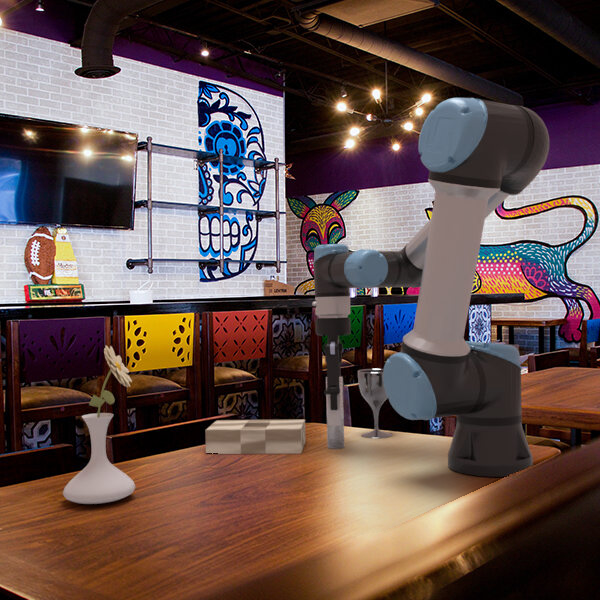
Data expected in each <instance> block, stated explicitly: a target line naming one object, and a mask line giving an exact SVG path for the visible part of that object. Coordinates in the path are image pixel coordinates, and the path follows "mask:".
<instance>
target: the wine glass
mask: <svg viewBox="0 0 600 600" xmlns="http://www.w3.org/2000/svg"><path fill="white" fill-rule="evenodd" d="M383 371H384V368H365V369H359V370H357V379H358V382H357V383H358V388H359V392H360V394H361V397H363V399H364V400H365V401H366V402H367V403H368V405H369V407H370V408H371V410H372V412H373V413H372V415H373V420H374V429H373V430H372V431H369V432H368V431H367V432H364V433H361V434H360V435H361V437H363V438H367V437H368V439H384V438H385V439H386V438H391V437H392V436H393V434H392V433H390V432H385V431H381V430H380V429H379V415H380V414H379V413H380V409H381V407H382V405H383V404H384V402H386V400H388V399H389V398H388V396H387V395H386V392H385V388H384V382H383Z"/></svg>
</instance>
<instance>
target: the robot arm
mask: <svg viewBox="0 0 600 600" xmlns="http://www.w3.org/2000/svg"><path fill="white" fill-rule="evenodd" d="M418 137H419V138H418V147H417V148H418V154H419V155H421V156H420V161H421V163H422V164H423V166H425V168H427V170H428V172H429V173H428V179H427V181H428V183H429V184H430V185H431V187H432V188H433V189H434V193H435V194H434V199H433V206H432V212H431V217H430V219H429V220H428V221H427V222H426V223H425V224H424V225H423V226H422V228H420V229H419V231H418V232H416V234H414V236H413V237H412V238H411V239H410V240H409V242H407V244H406V245H404V246H403V248H401V250H397V251H396V250H395V251H393V250H392V251H391V250H386V251H385V250H384V251H382V250H376V249H367V248H366V249H363V248H362V249H357V250H354V251H353V250H352V251H350V249H349V246H348V245H347V244H343V243H331V244H330V243H329V244H319V245H317V246H316V247H315V248H314V252H313V253H314V254H313V255H314V256H313V265H312V266H313V279H314V281H313V282H314V283H313V284H314V297H315V298H314V300H315V301H312V303H311V306H313V307H315V309H314V310H315V316H318V317H316V319H315V320H314V323H315V334H316V336H320V337H325V336H326V337H327V343H324V344H323V352H324V354H325V355H324V356H325V357H324V361H325V364H326V377H327V391H326V390H323V394H324V395H326V394H327V402H326V408H327V407H328V426H341V400H340V394H339V393H340V388H339V376H340V377H342V374H341V373H342V372H341V370H342V369H341V364H342V362H343V353H344V352H343V350H344V345H343V344H344V343H342V342H341V340H340V336H348V335H350V334H351V332H352V331H351V330H352V329H351V328H352V327H351V326H352V325H351V318H350V317H348V316H349V315H351V295H350V293H351V292H350V291H351V289H372V288H373V289H375V288H376V289H377V288H414V289H415V288H417V289H418V288H419V292H418V300H417V305H416V310H415V311H416V312H415V317H414V324H413V329H412V330H410V331H409V332H408V333H406V334H404V335H403V337H402V342H401V349H400V351H399V352H396V353H393V354H391V355H390V356H389V358H387V360H386V361H385V363H384V366H383V369H384V371H383V382H384V388H385V392H386V395H387V396H388V398H387V399H388V401H389V403H390V406H392V408H393V410H394V411H395V412H396V413H397V414H399V416H401V417H403V418H405V419H407V420H410V421H415V420H416V421H418V420H423V421H430V420H433V419H438V418H444V417H445V418H446V417H453V416H456V427H455V429H454V433H453V436H452V440H451V443H450V446H449V449H448V453H447V466H448V468H449V470H452V471H454V472H457V473H459V474H460V473H461V474H465V475H470V476H477V477H493V478H495V477H498V478H500V477H508V476H507V475H510V474H513V473H516V472H519V471H521V470H524V469H526V468H528V467H530V466H532V465H533V466H534V463H533V461H534V460H533V459H534V458H533V454H532V451H531V449H530V446H529V444H528V440H527V438H526V435H525V431H524V429H523V425H522V424H523V423H522V422H523V421H522V415H523V414H522V412H523V411H522V369H523V368H522V366H521V358H520V351H519V349H518V348H517V347H516V346H514V345H511V344H504V343H495V342H483V341H482V342H481V341H472V340H471V341H470V340H469V341H468V340H465V338H464V337H465V330H466V326H467V320H468V315H469V308H470V304H471V297H472V292H473V286H474V281H475V275H476V270H477V264H478V260H479V259H478V258H479V254H480V247H481V243H482V239H483V238H482V236H483V232H484V227H485V226H484V225H485V221H486V220H485V219H486V218H488V217H489V216H490V215H491V214H492V213H493V212H494V211H495V210H496V209H497V208H498V207H499V206H500V205H501V204H502V203H503V202H504V201H505V200H506V199H507V198H509V197H510V196H517V195H519V194H520V193H522V192H523V191H524V190H525V189H526V188H527V187H528V186H529V185H530V184H531V183H533V181H534V180H535V178H536V177H537V176H538V175H539V174H540V172H541V170H542V168H543V167H544V165H545V163H546V162H547V158H548V156H549V151H550V136H549V130H548V128H547V126H546V124H545V122H544V121H543V119H542V118H541V117H540V116H539V115H538V114H537V113H536V112H535V111H533V110H532V109H530V108H528V107H526V106H525V107H524V106H522V105H518V104H507V103H501V102H496V101H492V100H485V99H481V98H474V97H452V98H451V97H450V98H448V99H446V100H443V101H441V102H439V104H437V105H436V106H435V108H434V109H432V110H431V111H430V113H429V114H428V115H427V117H426V118H425V120H424V123H423V125H422V126H421V130H420V133H419V136H418ZM343 388H345V382H343Z"/></svg>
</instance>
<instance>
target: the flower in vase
mask: <svg viewBox="0 0 600 600" xmlns="http://www.w3.org/2000/svg"><path fill="white" fill-rule="evenodd" d="M103 348H104V347H103ZM103 353H104V358H105V360H106V363H107V365H108V366H109V368H110V369H109V371H108V372H107V375H106V377H105V380H104V381H103V384H102V388H101V392H100V396H99V397H98V395H95V394H92V398H91V399H90V401H89V403H88V406H92V407H95V408H98V409H97V412H96V413H88V414H83V415H81V418H82V419H83V421H84V422H85V423H86V426H87V428H88V432H89V435H90V444H91V450H90V451H91V455H90V460H89V462H88V463H87V465H86V466H85V467H84V468H82V470H81V471H80V472H78V473H77V474H76V475H75V476H74V477H73V478H72V479H71V480H70V481H68V483H67V484H66V485H65V487H64V489H63V492H62V495H63V496H64V498H65V499H66V500H67V501H70V502H72V503H76V504H83V505H93V504H94V505H97V504H99V505H100V504H106V503H111V502H116V501H119V500H121V499H124V498H126V497H128V496H130V495H132V494H133V492H134V490H135V489H136V484H135V482H134V480H133V479H132V478H131V477H130V476H128V475H127V474H126V473H125V472H124V471H122V470H121V469H119V468H117V467H116V465H114V464H112V463H111V461H110V460H109V459H108V456H107V452H106V451H107V448H106V445H107V444H106V442H107V441H106V440H107V439H106V438H107V432H108V427H109V425H110V422H111V420H112V418H113V417H114V413H111V412H101V407H102V405H104V403H105V402H106V403H107V404H108V405H113V404H114V403H115V400H116V399H115V397H114V394H113V393H112V392H111V391H109V390H105V387H106V385H107V382H108V380H109V377H110V376H111V374H112V375H114V377H115V378H116V379H117V381H118V382H119V384H120V385H123V386H124V387H126V388H128V387H130V388H131V384H130V383H133V380H132V379H131V377H130V375H129V373H130V370H129V369H128V368H127V367H126V366H125V364H124V363H123V361H122V357H121V355H116V353H115V351H114V348H113V346H112V345H110V346H109V347H108V345H105V348H104V349H103Z"/></svg>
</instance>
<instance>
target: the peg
mask: <svg viewBox="0 0 600 600" xmlns="http://www.w3.org/2000/svg"><path fill="white" fill-rule="evenodd" d="M343 377H344V376H341V377H340V376H339V388H340V393H339V394H340V400H341V426H328V407H327V406H326V433H327V434H326V436H327V437H326V439H327V440H326V441H327V448H328V449H330V450H338V449H343V448H345V420H344V417H345V416H344V387H343V383H344V378H343ZM325 391H327V376H325ZM325 397H326V403H327V394H325Z"/></svg>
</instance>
